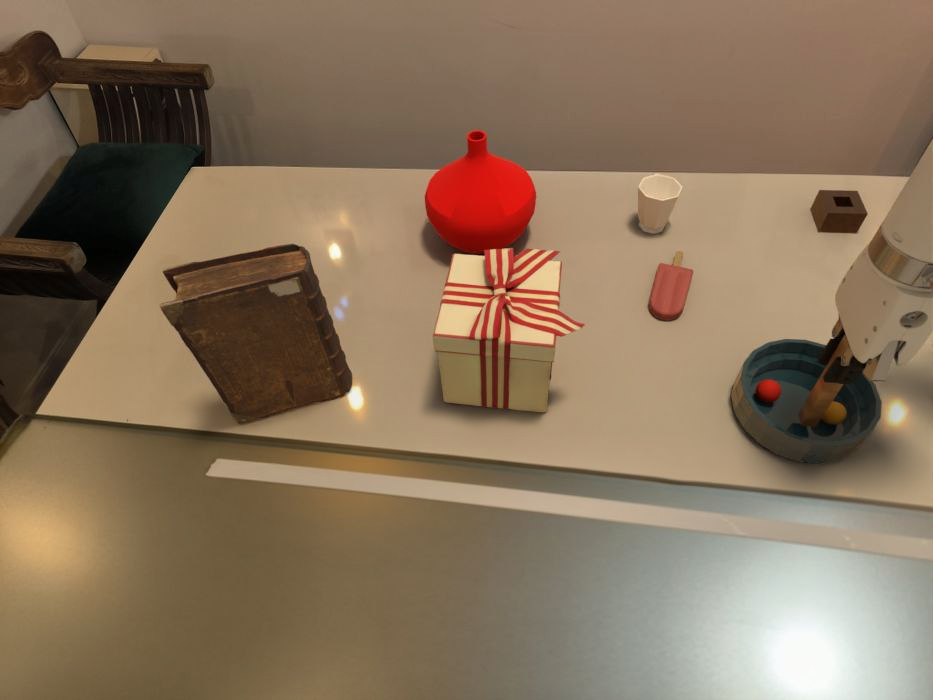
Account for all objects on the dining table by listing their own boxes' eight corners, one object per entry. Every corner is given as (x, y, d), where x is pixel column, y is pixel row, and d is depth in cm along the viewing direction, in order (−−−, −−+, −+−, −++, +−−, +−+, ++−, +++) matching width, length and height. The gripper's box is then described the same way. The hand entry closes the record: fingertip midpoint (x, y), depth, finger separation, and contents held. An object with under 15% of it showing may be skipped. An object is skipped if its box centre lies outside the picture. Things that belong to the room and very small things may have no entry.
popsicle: (698, 251, 98) (682, 317, 89) (695, 258, 99) (680, 324, 90) (664, 244, 99) (646, 309, 91) (662, 251, 100) (644, 316, 92)
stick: (812, 414, 78) (862, 334, 65) (816, 426, 77) (867, 347, 64) (797, 413, 78) (844, 334, 66) (800, 426, 77) (848, 347, 64)
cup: (632, 238, 103) (639, 200, 96) (628, 201, 109) (635, 162, 102) (674, 239, 102) (685, 200, 96) (668, 201, 108) (678, 162, 102)
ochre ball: (837, 410, 79) (847, 397, 77) (843, 430, 77) (853, 417, 75) (812, 408, 79) (822, 396, 77) (818, 428, 78) (827, 415, 75)
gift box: (578, 415, 82) (590, 333, 68) (442, 412, 83) (428, 332, 70) (572, 320, 92) (582, 233, 79) (452, 319, 94) (441, 233, 80)
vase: (433, 202, 112) (421, 105, 97) (533, 199, 111) (536, 101, 96) (425, 271, 101) (410, 174, 86) (536, 270, 99) (540, 170, 84)
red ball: (771, 389, 82) (784, 377, 80) (774, 408, 80) (787, 397, 78) (750, 384, 82) (761, 373, 79) (752, 404, 80) (765, 392, 78)
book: (353, 367, 89) (308, 238, 70) (356, 407, 85) (308, 281, 65) (239, 387, 88) (161, 261, 69) (236, 428, 84) (151, 306, 64)
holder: (847, 209, 104) (857, 190, 101) (857, 233, 100) (868, 213, 97) (810, 208, 105) (819, 189, 101) (818, 232, 101) (828, 212, 98)
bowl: (844, 364, 84) (860, 342, 80) (879, 470, 74) (899, 450, 70) (722, 358, 86) (732, 336, 82) (740, 460, 76) (753, 440, 72)
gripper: (1000, 319, 50) (891, 434, 64) (932, 197, 59) (851, 321, 74) (901, 315, 50) (815, 429, 65) (850, 195, 60) (785, 318, 75)
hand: (835, 371), depth 69 cm, fingers closed on stick, 1 cm apart
